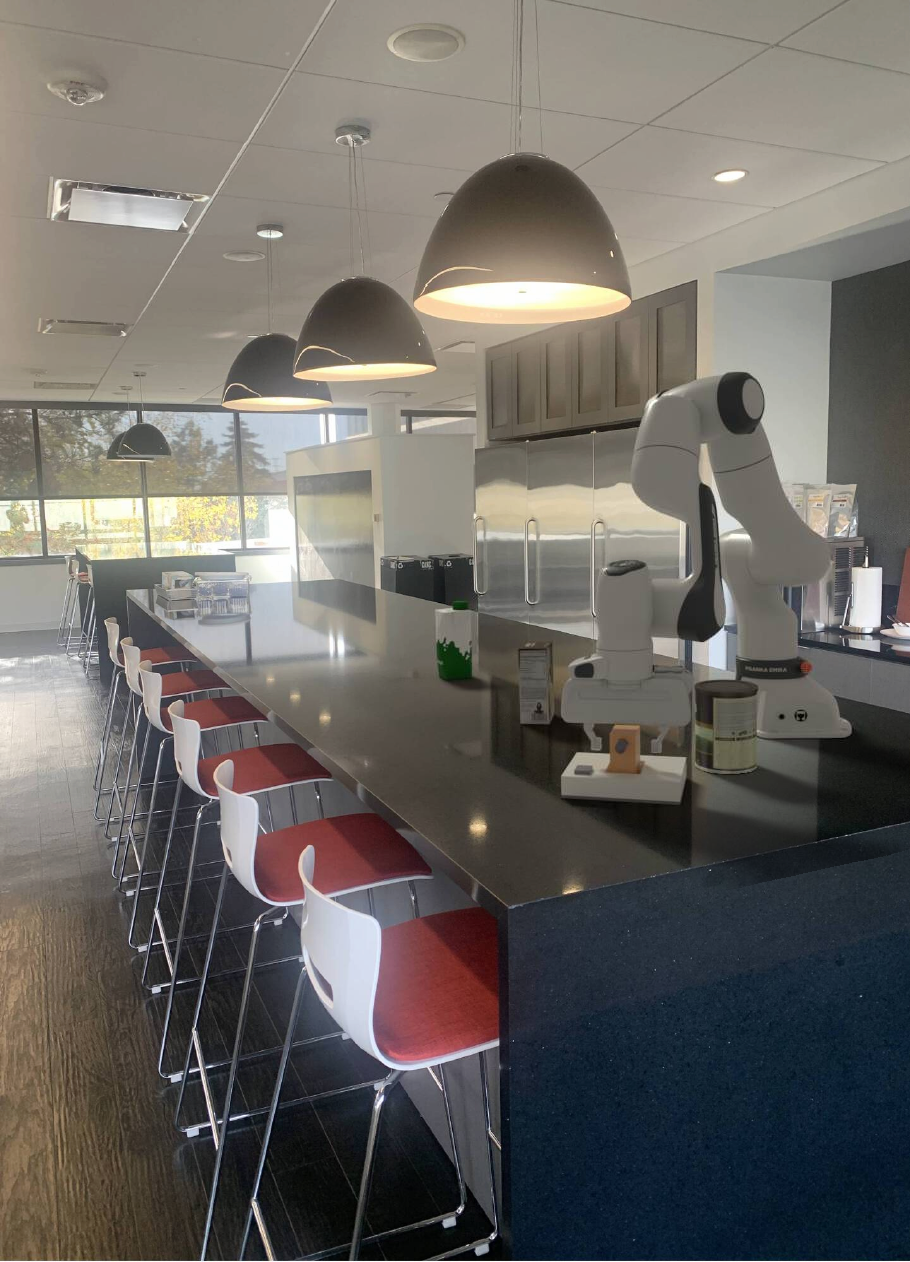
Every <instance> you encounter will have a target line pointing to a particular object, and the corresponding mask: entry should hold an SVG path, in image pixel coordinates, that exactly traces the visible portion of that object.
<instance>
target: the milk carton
mask: <svg viewBox="0 0 910 1262" xmlns="http://www.w3.org/2000/svg"><path fill="white" fill-rule="evenodd" d="M434 616H435V639H436V640H435V641H436V643H435V645H436V661H437V662H436V664H437V671H438V676H439V677H441V678H442V679H444V680H445V681H453V680H462V679H471V678H473V646H472V645H473V643H472V610H471V609H470V608H469V602H468V600H455V601H452V607H450V608H442V609H435V610H434Z"/></svg>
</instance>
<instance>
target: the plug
mask: <svg viewBox="0 0 910 1262" xmlns="http://www.w3.org/2000/svg"><path fill="white" fill-rule="evenodd" d="M609 754H610V773H628V774H640V755H641V725H635V724H614V726H613V727H612V729H611V731H610V732H609Z"/></svg>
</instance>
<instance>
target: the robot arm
mask: <svg viewBox="0 0 910 1262" xmlns="http://www.w3.org/2000/svg"><path fill="white" fill-rule="evenodd" d="M764 394H765V393H764V391H763V388H762V386H761V384H760V382H759V381H758V380H757V379H756V378H755V377H754V376H753V375H752V374H751V373H749V372H747V371H728V372H726V373H725V374H718V375H713V376H708V377H702V378H698V379H694V380H693V381H691V382H688V383H684V384H682V385H679V386H676V387H673V388H671V389H664V390H662V391H660V392H658V393H655V394H654V395H653V396H652V397H650V398H649V399H648V401H646V403H645V406H644V408H643V412H642V418H641V422H640V425H639V427H638V432H637V435H636V438H635V444H634V448H633V455H632V461H631V468H630V483H631V488H632V490H633V492H634V494H635V495H636V496H637V498H638V499H639V501H641V503H643V504H644V505H646V506H647V507H649V508H650V509H652V510H654V511H656V512H658V513H659V514H660V513H661V514H663V515H665V516H668V517H672V518H674V519H676V520H679V521H681V522H683V523H685V524H686V525H687V526H688V528H689V533H690V534H689V536H690V537H689V539H690V558H691V572H690V574H689V576H687V577H684V578H659V577H658V578H656V577H651V576H650V575H651V574H650V570H649V566H648V564H647V563H646V562H644V561H641V560H637V559H623V560H622V559H621V560H617V561H611V562H608V563H606V564H604V565H603V566H601V568H600V569H599V571H598V576H597V581H596V590H595V591H596V592H595V623H596V625H597V630H598V631H597V632H598V635H597V639H596V644H595V648H596V649H595V653H592V654H589V655H585V656H582V657H579V658H577V659H575V660H572V662H570V663H569V665H568V667H567V676H568V677H569V678H568V680H567V681H566V682H565V683H564V686H563V689H562V693H561V702H560V705H561V706H560V715H561V718H562V719H563V721H564V722H565V723H576V724H577V723H578V724H583V731H584V732H585V733H586V736H587V737H588V739H589V741H590V744H591V745H590V750H591V751H602V749H603V748H602V747H603V744H602V737H600V736H597V735H596V733H595V731H594V730H593V729H594V727H595V724H607V725H608V724H610V725H611V724H612V725H613V724H614V725H635V726H641V725H642V726H643V725H645V726H658V728H657V730H658V732H659V733H660V734H659V735H658V737H657V739H651V743H650V747H651V748H650V749H651V750H650V752H651V753H652V754H653V753H655V754H657V753H658V754H661V753H662V749H663V747H662V742H663V740H664V739H665V737H666V735H667V734H668V732H669V726H670V727H671V726H673V727H677V726H678V727H685V726H687V725H688V724H689V723H690V722H691V719H692V702H691V697H690V694H691V693H692V692H693V689H694V675H693V673H692V672H691V671H690V670H689V669H688V668H684V666H682V665H670V666H669V665H659V664H654V641H653V638H663V639H680V640H682V641H691V642H697V643H706V642H707V641H709V640H710V639H711V638H713V637H714V636H716V634H719V633H720V631H721V630H722V629H723V628H724V626H725V622H726V617H727V606H726V599H725V593H724V585H723V581H724V583H725V585H726V587H727V589H728V592H729V593H730V596H731V599H732V602H733V606H734V608H735V613H736V620H737V621H736V622H737V623H736V624H737V654H736V656H735V661H734V680H741V681H747V682H751V683H754V684H756V685H758V691H757V737H759V738H763V739H833V738H835V739H838V738H839V739H840V738H841V739H843V738H847V737H849V736H851V734H852V732H853V731H852V730H853V729H852V725H851V723H850V721H848V720H847V719H845V718H843V717H841V716H840V710H839V704H838V702H837V699H836V698H835V697H834V695H833V694H832V693H831V692H830V691H828V689H826V688H824V687H823V686H822V685H821V684H820V683H818V682H816V680H814V679H813V678H811V677H810V676H809V673H811V671H812V670H813V667H812V663H811V662H809V660H807V659H806V658H804V657H801V656H799V655H798V650H799V649H798V644H799V643H798V637H799V636H798V633H799V621H798V616H797V614H796V612H795V611H794V610H793V609H792V608H791V607H790V606H789V605H788V604H787V603H786V601H785V600H784V597H783V596H782V594H781V590H780V587H785V588H797V587H803V586H809V585H813V584H816V583H818V582H819V581H821V580H822V579H823V578H824V577H825V576H826V574H827V573H828V570H829V568H830V566H831V565H830V564H831V549H830V546H829V543H828V542H827V540H826V539H825V537H824V536H822V534H819V533H818V532H816V531H815V530H814V529H812V528H811V527H810V526H809V525H808V524H807V523H806V522H805V521H804V520H803V519H802V518H801V516H800V515H799V514H798V512H797V511H796V510H795V508H794V507H793V505H792V504H791V502H790V500H789V499H788V497H787V495H786V493H785V491H784V488H783V485H782V482H781V479H780V476H779V474H778V473H779V472H778V470H777V465H776V462H775V459H774V455H773V450H772V449H771V445H770V441H769V439H768V436H767V433H766V431H765V428H764V426H763V424H762V421H761V420H762V418H763V416H764V412H765V408H766V407H765V406H766V404H765V403H766V401H765V395H764ZM703 444H706V448H707V450H706V451H707V454H708V460H709V463H710V468H711V472H712V474H713V475H712V476H713V478H714V481H715V485H716V489H717V492H718V496H719V499H720V502H721V503H720V504H721V506H722V507H723V510H724V511H725V512H726V513H727V515H729V516H730V517H732V518H734V519H735V520H736V521H737V522H738V523H739V524H740V525H741V526H742V528H736V529H733V530H730V531H727V532H723V533H722V534H720V531H719V530H720V529H719V517H718V508H717V501H716V498H715V496H714V493H713V490H712V488H711V486H709V485H708V484H705V483H703V482H702V479H701V476H700V475H701V474H700V472H699V471H700V470H699V469H700V468H699V467H700V457H701V447H702V445H703Z"/></svg>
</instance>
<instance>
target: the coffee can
mask: <svg viewBox="0 0 910 1262" xmlns="http://www.w3.org/2000/svg"><path fill="white" fill-rule="evenodd" d="M693 689H694V716H695V717H694V720H695V722H694V724H695V725H694V727H695V728H694V731H695V732H694V733H695V734H694V735H695V736H694V738H695V739H694V742H695V743H694V747H695V748H694V750H695V751H694V754H695V758H694V767H695V768H696V769H698V770H700V771H702V772H704V771H705V773H708V772H709V773H708V774H713V773H718V774H717V775H721V774H739V773H747V772H750V773H753V772H754V771H753V770H755V769H756V768H757V769H758V765H757V752H758V751H757V743H758V742H757V739H758V736H757V691H758V685H756V684H754V683H751V682H747V681H741V680H735V679H709V680H708V679H707V680H702V681H699V682H695V684H693ZM757 769H756V770H757ZM756 770H755V771H756ZM752 771H753V772H752ZM719 773H720V774H719ZM747 774H748V773H747Z"/></svg>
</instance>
